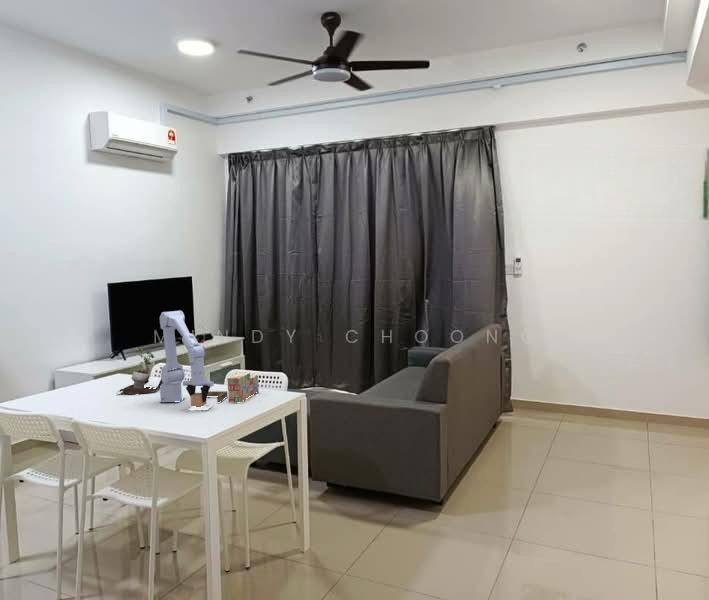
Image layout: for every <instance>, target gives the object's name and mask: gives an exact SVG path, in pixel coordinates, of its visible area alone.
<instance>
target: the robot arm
mask: <svg viewBox="0 0 709 600" xmlns="http://www.w3.org/2000/svg"><path fill="white" fill-rule="evenodd" d="M185 319H186V317H185V314H184V312H183V311H182V310H174V311H163V312H161V314H160V316H159V324H160V329H161V330H162V331H163V332H162V333H163V342H164V352H165V360H166V361H165V362H166V363H165V364H164V365H163V366H162V367H161V371H160V372H161V373H160V380H162V382H163V384H162V385H161V387H159V392H160V393H159V396H160V402H175V401H180V400H182V398H183V393H182V391H183V390H182V387H185V390H186V391H187V394H189V397H190V398H191V395H193V394H195V393H196V389H197V388H196V387H200V388H199V389H200V393H201V392H202V400H203V402H206V403H207V399H208V398H207V394H208V391H210V389H211V388H212V387H214V386H215V384H214V383H215V382H214V381H211V380H205V366H204V365H205V364H204V358H205V357H206V354H207V353H206V348H205V346H204V345H203V344H201V343H199V342H198V339H197V338H196V337H195V335H194V334H193V333H190V331H189V329H188V327H187V325H186V323H185ZM175 330H177V331H178V333H179V334H180V336H181V337H182V338H181V340H182V341H181V342H182V343H183V344H184V346H185V348H186V350H187V357H188V362H189V364H190V376H191V377H190V379H191V380H184V379H185V377H186V376H185V375H186V374H185V371H184V368H183V367H184V366H183V365H182V364H181V363H179V362H178V353H177V346H176V336H175V335H176V334H175Z"/></svg>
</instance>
